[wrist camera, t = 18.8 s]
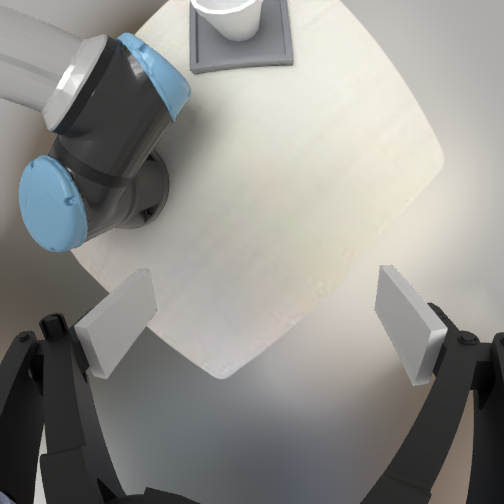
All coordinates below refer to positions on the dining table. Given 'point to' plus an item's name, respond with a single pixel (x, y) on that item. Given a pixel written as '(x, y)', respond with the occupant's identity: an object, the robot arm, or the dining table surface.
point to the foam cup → (231, 16)
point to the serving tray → (242, 42)
